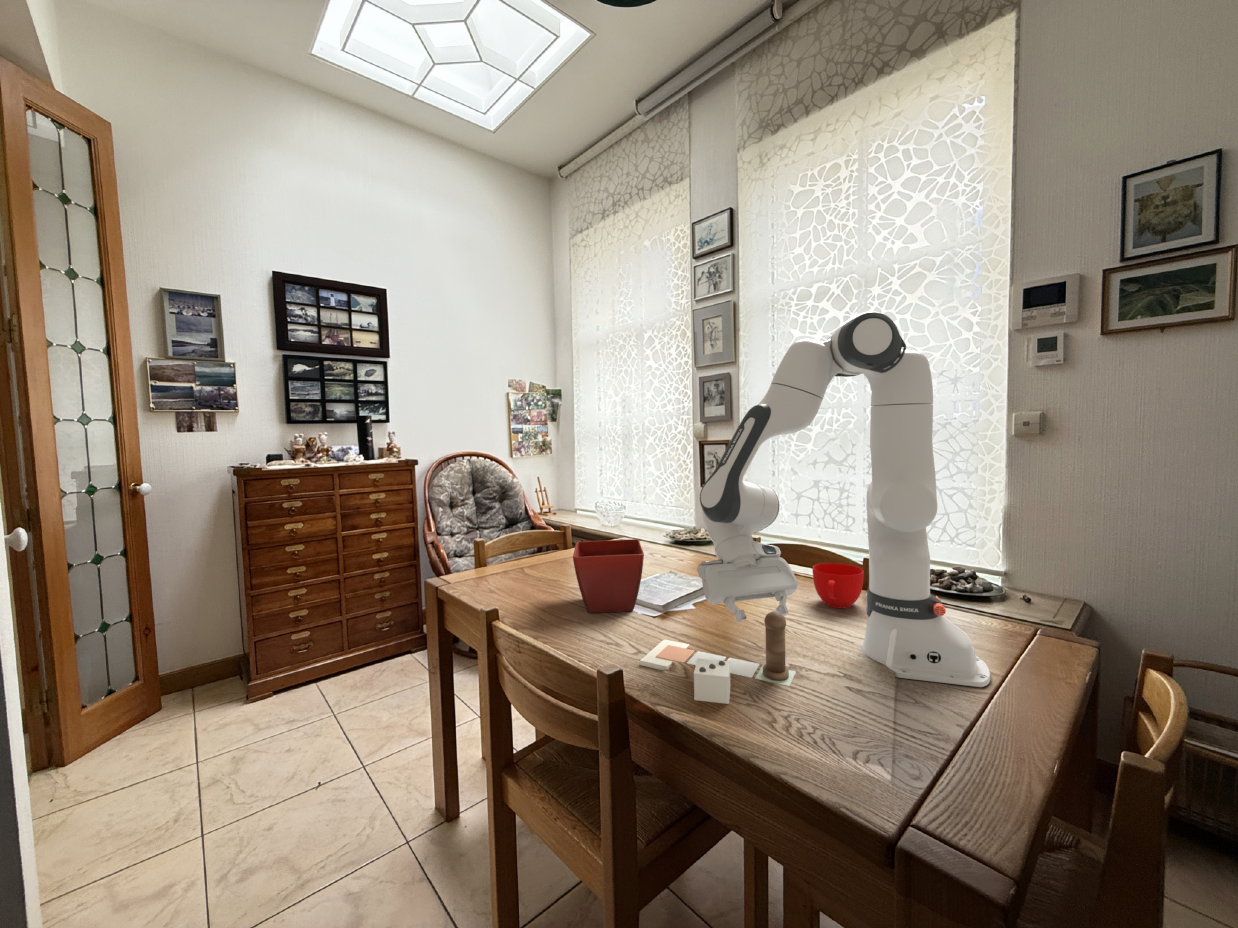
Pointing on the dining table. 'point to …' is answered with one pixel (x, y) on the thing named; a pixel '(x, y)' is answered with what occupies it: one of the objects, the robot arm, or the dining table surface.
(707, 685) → the die
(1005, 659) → the dining table surface
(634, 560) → the plant pot
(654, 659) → the game board
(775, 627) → the pawn
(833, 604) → the ceramic cup
